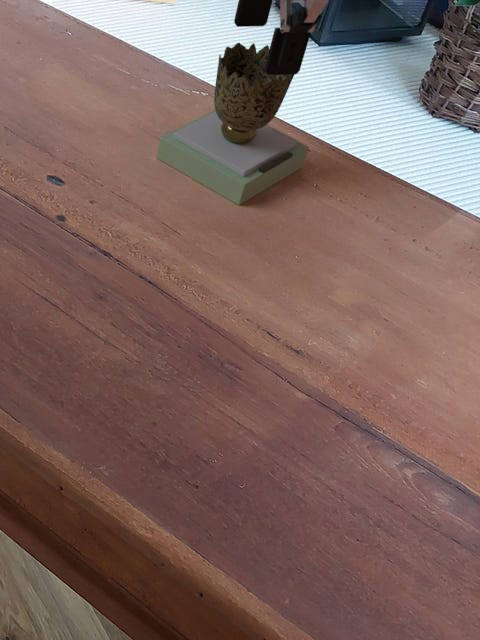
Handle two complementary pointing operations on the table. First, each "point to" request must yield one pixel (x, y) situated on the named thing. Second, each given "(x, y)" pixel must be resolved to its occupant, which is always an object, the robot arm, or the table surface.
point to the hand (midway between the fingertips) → (264, 48)
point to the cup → (247, 92)
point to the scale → (231, 157)
